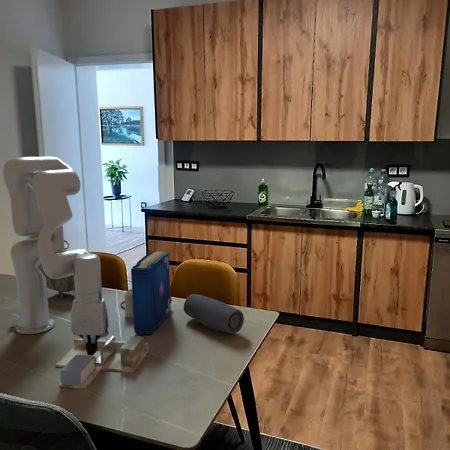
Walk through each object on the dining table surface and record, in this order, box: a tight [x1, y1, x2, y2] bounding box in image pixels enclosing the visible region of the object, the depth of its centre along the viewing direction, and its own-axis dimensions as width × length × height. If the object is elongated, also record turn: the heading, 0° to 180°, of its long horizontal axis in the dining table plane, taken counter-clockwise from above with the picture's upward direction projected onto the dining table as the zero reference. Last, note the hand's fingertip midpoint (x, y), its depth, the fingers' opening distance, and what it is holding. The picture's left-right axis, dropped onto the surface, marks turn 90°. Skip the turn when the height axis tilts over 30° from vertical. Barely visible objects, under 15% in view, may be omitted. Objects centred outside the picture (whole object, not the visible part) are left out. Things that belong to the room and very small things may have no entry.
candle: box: [123, 288, 134, 319], centre depth 166 cm, size 6×6×10 cm
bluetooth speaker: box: [183, 293, 245, 335], centre depth 156 cm, size 23×9×10 cm, turn 45°
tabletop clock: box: [43, 239, 75, 299], centre depth 184 cm, size 14×9×25 cm, turn 66°
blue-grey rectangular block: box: [59, 355, 95, 386], centre depth 122 cm, size 6×9×4 cm, turn 172°
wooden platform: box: [55, 335, 150, 390], centre depth 128 cm, size 24×24×6 cm
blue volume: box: [130, 250, 172, 336], centre depth 156 cm, size 22×7×25 cm, turn 168°
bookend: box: [95, 335, 116, 365], centre depth 132 cm, size 3×9×5 cm, turn 172°
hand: (92, 353), depth 133 cm, fingers closed
